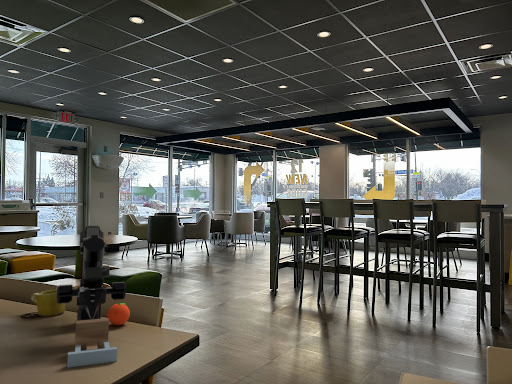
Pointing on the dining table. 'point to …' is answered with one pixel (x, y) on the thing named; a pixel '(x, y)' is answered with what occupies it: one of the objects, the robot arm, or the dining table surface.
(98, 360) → the slot bracket
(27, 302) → the dining table surface
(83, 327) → the brown upright blocky piece
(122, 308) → the clementine
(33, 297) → the mug
